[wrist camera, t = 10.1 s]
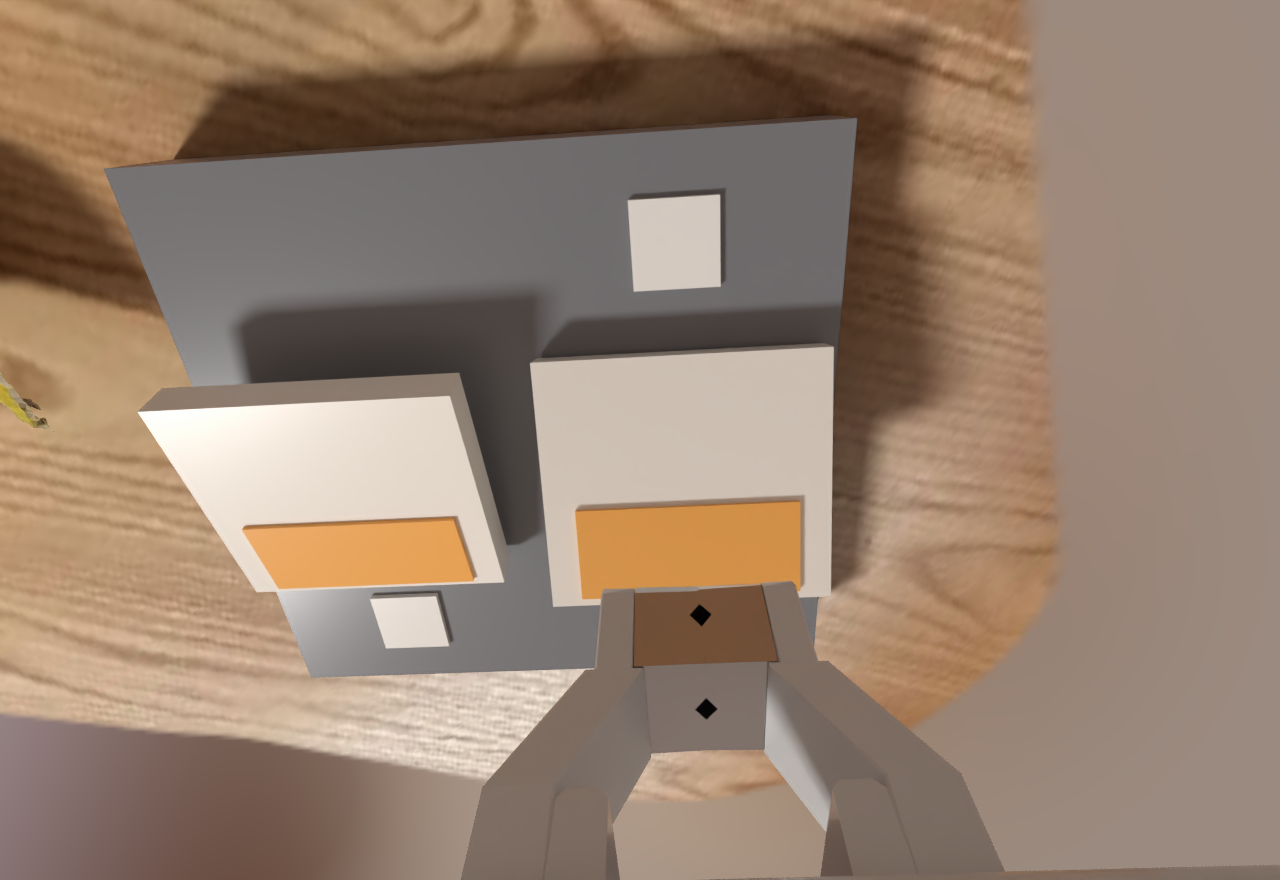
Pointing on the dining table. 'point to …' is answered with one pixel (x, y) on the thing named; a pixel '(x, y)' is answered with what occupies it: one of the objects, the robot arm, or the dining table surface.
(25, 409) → the origami crane
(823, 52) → the dining table surface
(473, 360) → the switch panel
